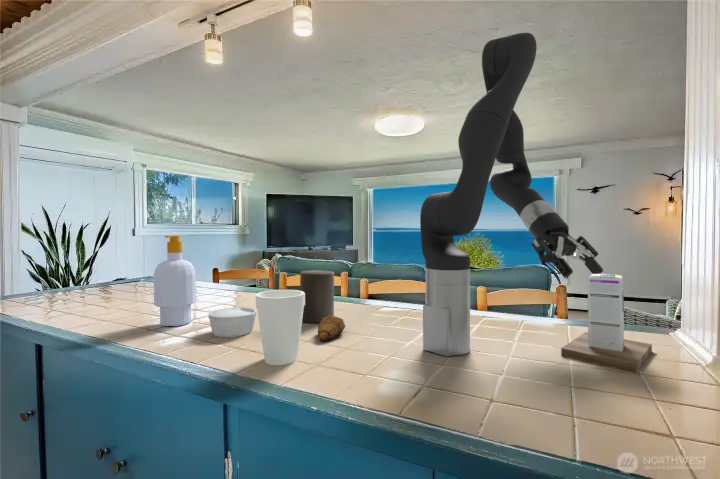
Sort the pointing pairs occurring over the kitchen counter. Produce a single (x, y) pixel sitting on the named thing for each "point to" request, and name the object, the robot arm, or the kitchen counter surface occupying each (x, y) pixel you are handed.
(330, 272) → the pillar candle
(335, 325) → the croissant
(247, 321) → the ramekin
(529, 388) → the kitchen counter surface
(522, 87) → the robot arm
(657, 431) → the kitchen counter surface
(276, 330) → the foam cup
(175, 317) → the soap bottle
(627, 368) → the walnut board
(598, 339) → the syrup box
